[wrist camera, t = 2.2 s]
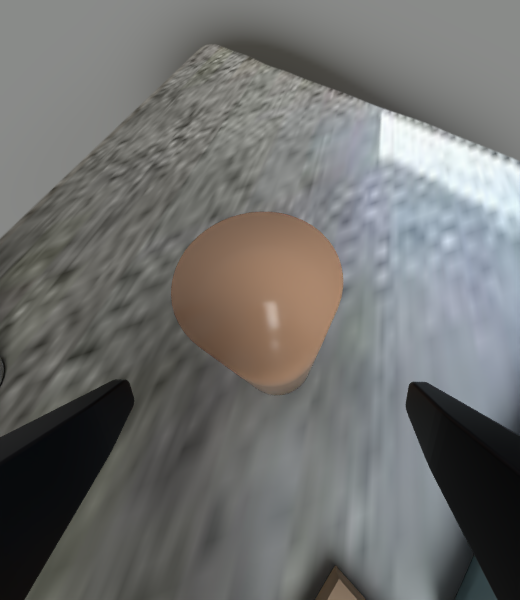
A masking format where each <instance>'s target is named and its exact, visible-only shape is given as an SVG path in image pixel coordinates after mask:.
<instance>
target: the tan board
mask: <svg viewBox="0 0 520 600" xmlns="http://www.w3.org/2000/svg"><path fill="white" fill-rule="evenodd" d="M315 600H366V599H365V598H364V597H363V596H362V595H361V593H360V592H359V591H358V590H357V589H356V588H355V587H354V586H353V584H352V583H351V582H350V581H349V580H348V579H347V578H346V577H345V576H344V574H343V573H342V572H341V571H340V570H339V569H338V568H337V567H336V565H335V566H334V568H333V570H332V571H331V573H330V575H329V576H328V578H327V580H326V582H325V583H324V585H323V587H322V588H321V590H320V592H319V594H318V595H317V597H316V599H315Z"/></svg>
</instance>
